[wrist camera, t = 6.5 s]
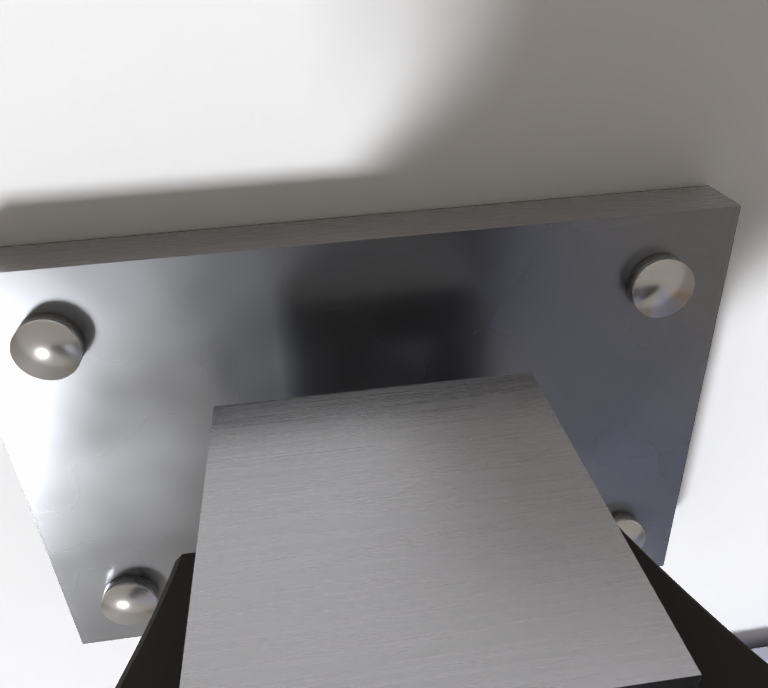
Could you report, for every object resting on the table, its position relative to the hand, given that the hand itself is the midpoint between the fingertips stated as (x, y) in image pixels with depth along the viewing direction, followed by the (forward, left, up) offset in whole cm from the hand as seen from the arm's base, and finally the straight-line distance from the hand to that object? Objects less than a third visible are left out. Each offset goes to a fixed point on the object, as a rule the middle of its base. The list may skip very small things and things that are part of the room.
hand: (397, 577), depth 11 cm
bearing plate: (0, 0, -4) cm, 4 cm away
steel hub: (0, 0, -1) cm, 1 cm away
